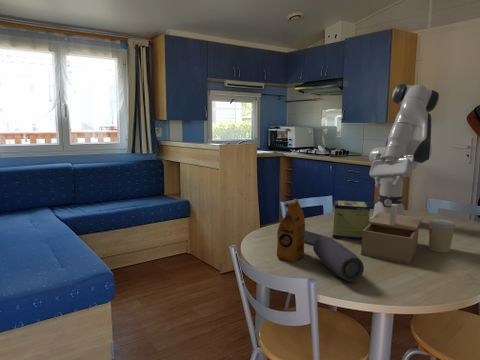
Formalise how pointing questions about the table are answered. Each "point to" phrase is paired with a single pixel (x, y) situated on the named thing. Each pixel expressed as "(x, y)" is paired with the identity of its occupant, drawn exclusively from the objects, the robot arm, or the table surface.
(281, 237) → the coffee package
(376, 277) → the table surface
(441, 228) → the coffee cup
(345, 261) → the bluetooth speaker
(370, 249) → the carton
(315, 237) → the notebook
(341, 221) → the protein box
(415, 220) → the carton lid
